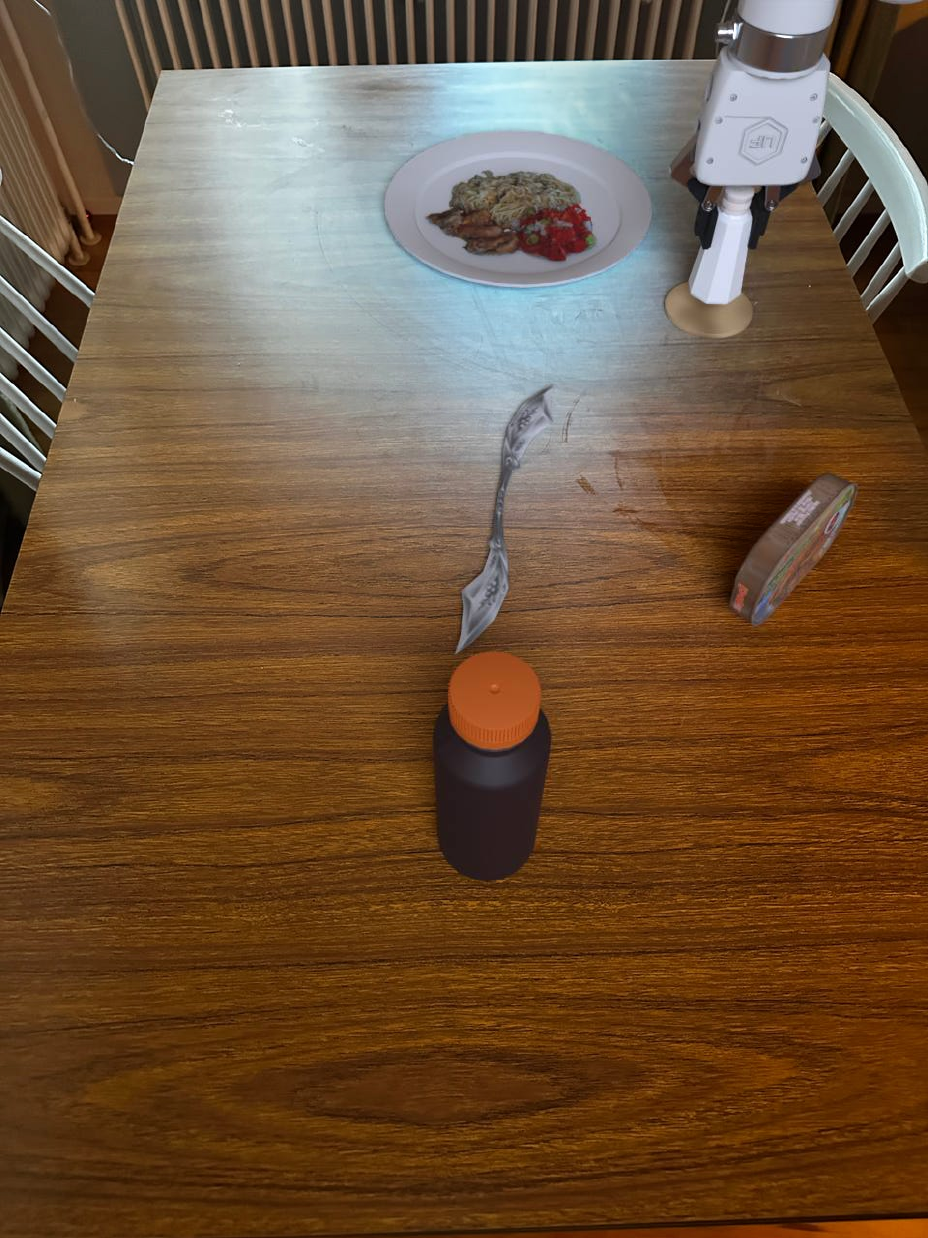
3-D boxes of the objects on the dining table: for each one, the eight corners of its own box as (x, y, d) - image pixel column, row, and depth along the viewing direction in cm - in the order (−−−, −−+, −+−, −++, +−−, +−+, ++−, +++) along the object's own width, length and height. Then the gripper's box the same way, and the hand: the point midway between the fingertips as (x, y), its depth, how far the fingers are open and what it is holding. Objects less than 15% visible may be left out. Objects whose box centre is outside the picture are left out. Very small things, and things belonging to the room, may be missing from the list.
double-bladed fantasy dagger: (559, 387, 92) (508, 381, 92) (559, 383, 91) (509, 376, 92) (509, 665, 74) (447, 655, 74) (509, 661, 73) (447, 651, 74)
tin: (744, 645, 75) (773, 580, 68) (711, 622, 76) (736, 557, 70) (841, 537, 82) (876, 468, 75) (808, 518, 83) (840, 448, 76)
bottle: (532, 789, 68) (554, 634, 52) (538, 882, 64) (564, 746, 48) (437, 791, 68) (429, 636, 52) (437, 884, 64) (429, 748, 48)
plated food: (444, 126, 119) (444, 98, 117) (678, 175, 113) (683, 147, 111) (340, 261, 103) (337, 233, 101) (606, 327, 97) (610, 299, 95)
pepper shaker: (724, 268, 99) (750, 166, 90) (750, 299, 96) (781, 197, 87) (677, 279, 98) (699, 177, 89) (703, 310, 95) (728, 208, 86)
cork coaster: (743, 282, 102) (744, 278, 101) (759, 338, 96) (760, 334, 96) (659, 283, 101) (659, 279, 101) (671, 338, 96) (672, 334, 96)
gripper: (683, 61, 75) (645, 265, 90) (892, 60, 75) (820, 263, 90) (669, 17, 79) (635, 219, 94) (868, 16, 80) (802, 217, 95)
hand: (726, 239), depth 92 cm, fingers closed on pepper shaker, 3 cm apart
